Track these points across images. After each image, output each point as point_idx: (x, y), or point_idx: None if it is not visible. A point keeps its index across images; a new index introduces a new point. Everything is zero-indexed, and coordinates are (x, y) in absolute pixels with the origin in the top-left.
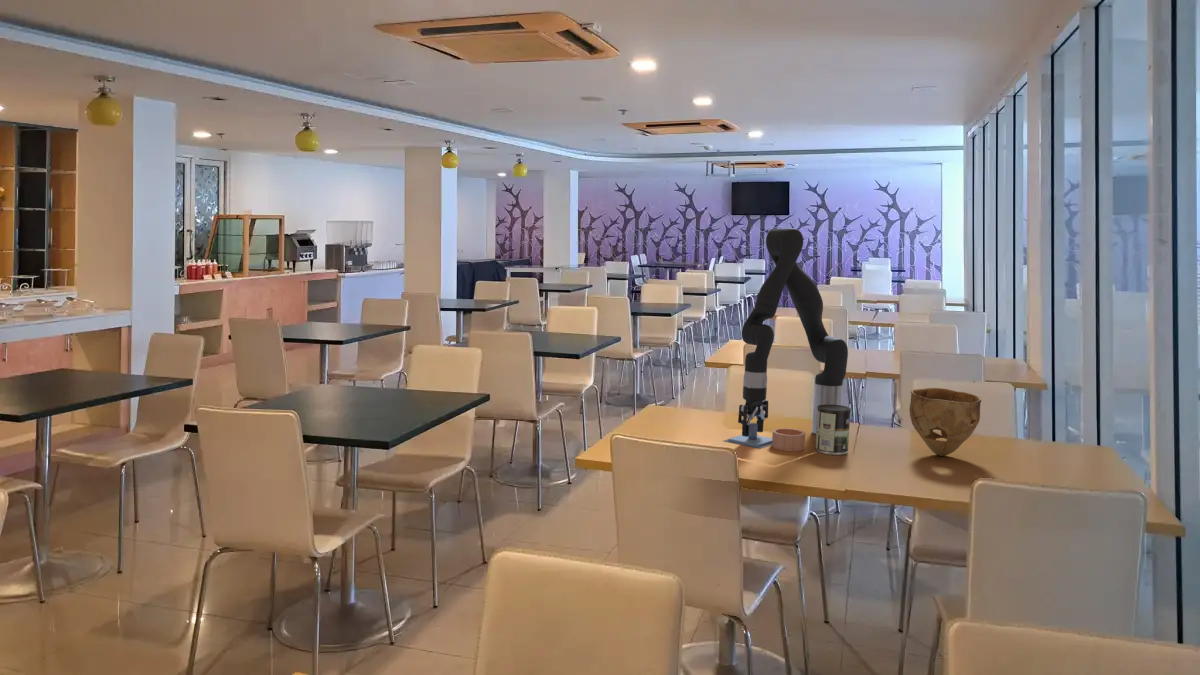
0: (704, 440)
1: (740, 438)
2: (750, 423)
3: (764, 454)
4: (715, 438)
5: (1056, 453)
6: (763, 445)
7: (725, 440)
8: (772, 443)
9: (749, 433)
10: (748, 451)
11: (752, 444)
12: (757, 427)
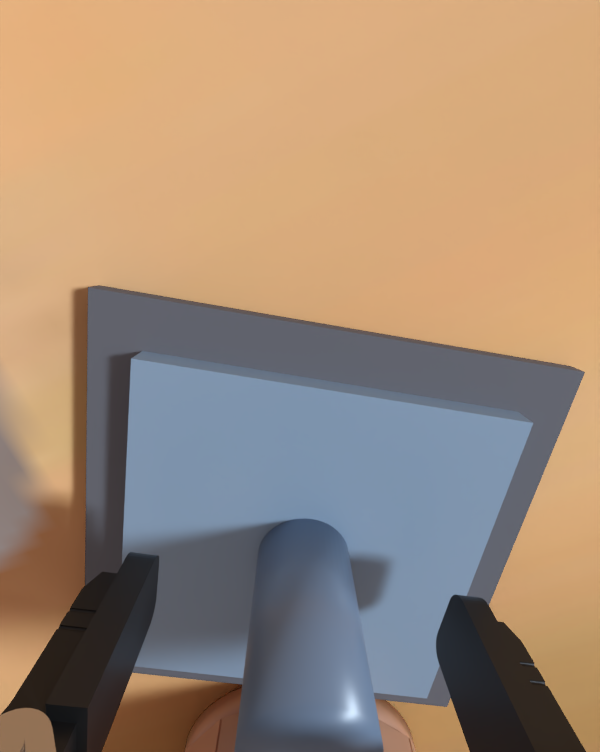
0: (38, 18)
1: (237, 459)
2: (304, 722)
3: None
4: (248, 107)
5: None
6: None
7: (140, 308)
8: (212, 745)
9: (257, 593)
10: (4, 600)
11: None
12: (472, 651)
